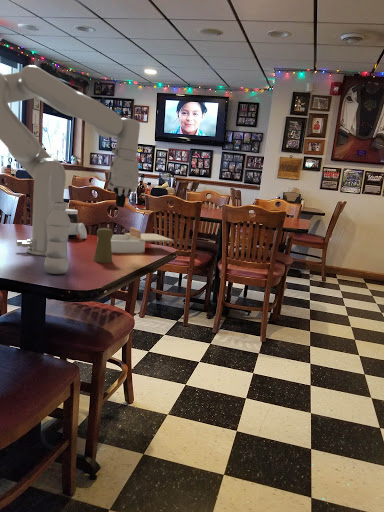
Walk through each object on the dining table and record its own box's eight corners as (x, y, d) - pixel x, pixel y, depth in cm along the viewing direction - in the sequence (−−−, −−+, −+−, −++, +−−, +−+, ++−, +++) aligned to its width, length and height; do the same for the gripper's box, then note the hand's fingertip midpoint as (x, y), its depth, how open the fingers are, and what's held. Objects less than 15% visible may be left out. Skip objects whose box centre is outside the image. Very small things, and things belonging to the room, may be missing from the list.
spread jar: (57, 234, 174) (58, 207, 172) (83, 235, 179) (85, 209, 177) (60, 239, 164) (62, 211, 161) (88, 240, 169) (90, 213, 166)
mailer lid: (140, 241, 153) (141, 231, 153) (125, 234, 165) (125, 225, 164) (172, 241, 161) (173, 232, 160) (155, 235, 173) (156, 226, 172)
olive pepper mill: (115, 261, 135) (118, 229, 133) (103, 263, 130) (105, 230, 128) (102, 258, 138) (104, 226, 136) (89, 260, 133) (91, 227, 131)
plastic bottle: (43, 276, 108) (46, 202, 104) (44, 270, 114) (47, 200, 111) (68, 277, 110) (71, 204, 106) (68, 271, 116) (71, 202, 112)
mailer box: (110, 253, 148) (111, 241, 147) (97, 245, 159) (97, 234, 158) (144, 252, 155) (145, 241, 155) (129, 245, 167) (130, 235, 166)
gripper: (110, 151, 134) (105, 206, 138) (149, 158, 143) (143, 209, 146) (101, 151, 140) (96, 203, 143) (139, 158, 149) (133, 207, 152)
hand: (119, 206), depth 145 cm, fingers closed
